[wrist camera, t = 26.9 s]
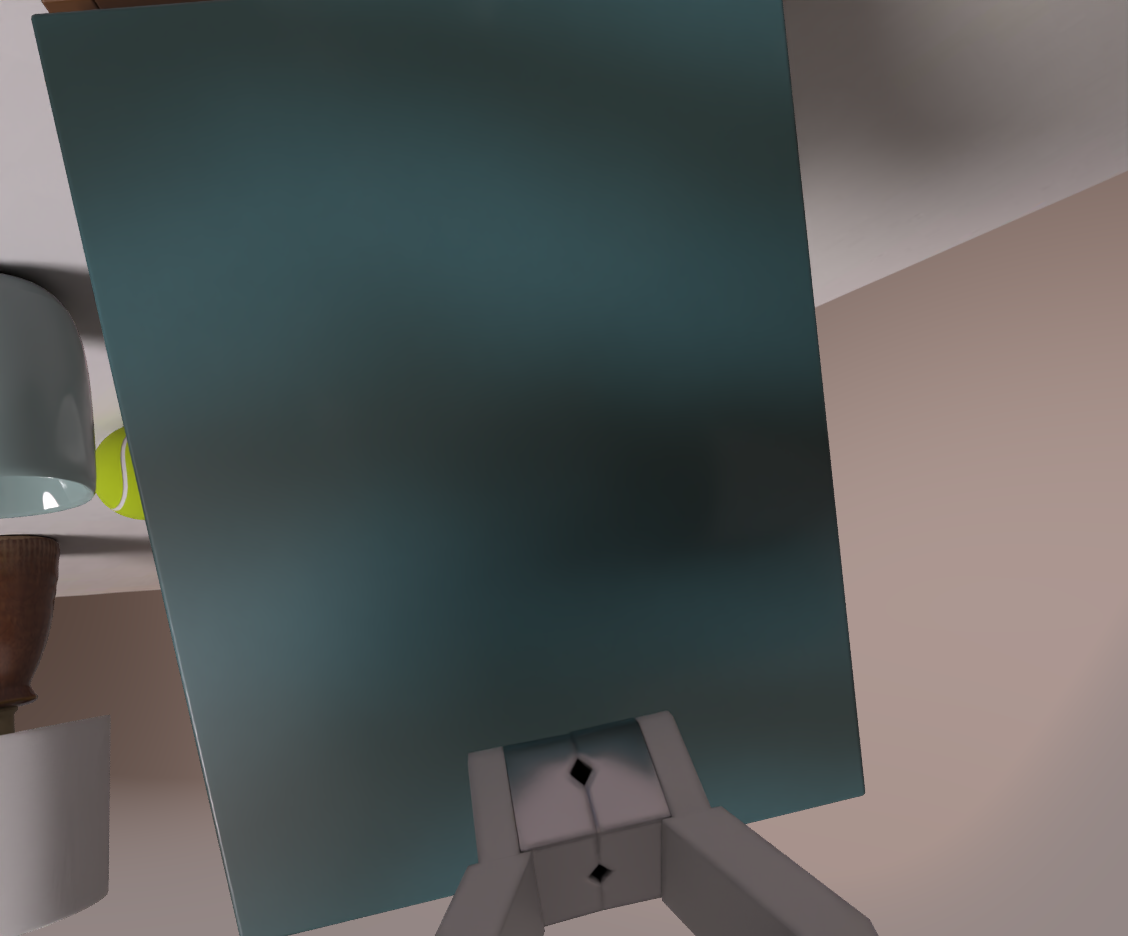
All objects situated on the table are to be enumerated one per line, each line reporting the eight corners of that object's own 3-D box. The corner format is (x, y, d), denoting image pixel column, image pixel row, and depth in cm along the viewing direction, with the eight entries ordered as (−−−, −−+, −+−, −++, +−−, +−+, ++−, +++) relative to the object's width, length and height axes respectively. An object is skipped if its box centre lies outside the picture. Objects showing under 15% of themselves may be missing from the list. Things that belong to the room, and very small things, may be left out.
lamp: (61, 516, 74) (81, 924, 66) (121, 546, 91) (144, 870, 83) (-170, 546, 68) (-177, 992, 61) (-59, 571, 86) (-53, 920, 78)
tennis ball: (74, 436, 54) (79, 530, 53) (108, 404, 50) (115, 506, 48) (174, 442, 59) (182, 528, 58) (213, 414, 55) (222, 506, 54)
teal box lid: (847, 776, 16) (867, 796, 16) (252, 919, 15) (240, 949, 14) (761, -23, 14) (779, -46, 13) (53, 35, 12) (27, 11, 12)
